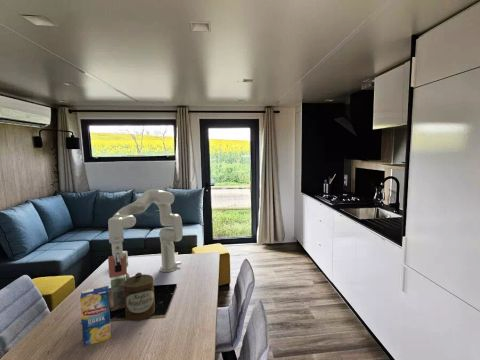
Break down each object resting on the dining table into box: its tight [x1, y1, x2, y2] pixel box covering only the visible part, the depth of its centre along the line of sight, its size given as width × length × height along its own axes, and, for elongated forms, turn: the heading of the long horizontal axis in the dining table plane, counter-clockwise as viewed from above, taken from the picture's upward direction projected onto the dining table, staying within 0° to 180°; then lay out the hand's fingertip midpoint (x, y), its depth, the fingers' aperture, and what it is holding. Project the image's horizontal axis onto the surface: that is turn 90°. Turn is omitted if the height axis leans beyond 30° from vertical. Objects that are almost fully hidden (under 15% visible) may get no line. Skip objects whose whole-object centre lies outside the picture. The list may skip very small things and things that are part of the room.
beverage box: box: [80, 285, 112, 347], centre depth 118 cm, size 7×11×22 cm, turn 117°
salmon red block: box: [107, 254, 128, 279], centre depth 149 cm, size 9×4×11 cm, turn 120°
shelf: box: [109, 272, 130, 312], centre depth 153 cm, size 12×23×11 cm, turn 30°
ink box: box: [123, 250, 129, 267], centre depth 202 cm, size 9×5×12 cm, turn 84°
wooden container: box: [124, 272, 156, 322], centre depth 138 cm, size 15×15×22 cm
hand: (117, 269), depth 149 cm, fingers closed on salmon red block, 4 cm apart
